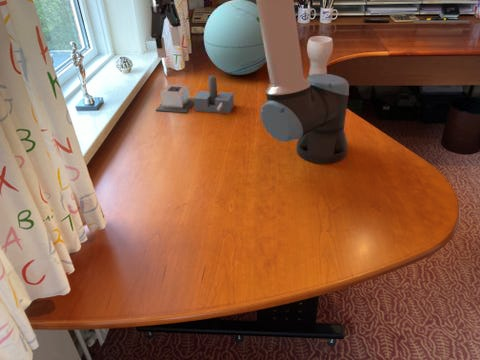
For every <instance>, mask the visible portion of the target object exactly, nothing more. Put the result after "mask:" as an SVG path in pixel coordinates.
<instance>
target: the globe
mask: <svg viewBox="0 0 480 360" xmlns="http://www.w3.org/2000/svg"><path fill="white" fill-rule="evenodd" d="M203 43H204V49H205V52H206V53H207V55H208V58H209V59H210V61H211V62H212V64H214V65H215V66H216V68H218V69H220V70H222V71H223V72H225V73H227V74H229V75H235V76H240V75H243V76H244V75H248V74H251V73H253V72H256V71H258V70H259V69H260V68H262V67H263V66H264V65H265V64H266V63H267V61H266V55H265V49H264V43H263V37H262V32H261V26H260V20H259V14H258V8H257V3H254V2H252V1H249V0H229V1H226V2H224V3H222V4H221V5H219V6H217V8H215V9H214V11H212V13H211V14H210V16H209V17H208V19H207V21H206V24H205V26H204V31H203Z"/></svg>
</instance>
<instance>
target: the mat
mask: <svg viewBox="0 0 480 360" xmlns="http://www.w3.org/2000/svg"><path fill="white" fill-rule="evenodd" d="M193 98H194V97H190V101H189V102H188V104H187V105H186V106H185V107H184V109H172V108H163V106H162V102H161V104H159V105H158V107H157V108H156V109H155V112H163V113H175V114H187V113H188V112H189V111H190V109H191V108H192V107H193V106H194V99H193Z"/></svg>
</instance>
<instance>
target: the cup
mask: <svg viewBox="0 0 480 360" xmlns="http://www.w3.org/2000/svg"><path fill="white" fill-rule="evenodd" d="M333 49H334V41H333V38H332V37H329V36H326V35H325V36H324V35H315V36H311V37H309V38H308V41H307V44H306V51H307V57H308V59H309V65H310V66H309V71H308V76H310V75H312V74H328V70H327V69H328V68H327V65H328V61H329V59H331V58H330V57H331V55H332V53H333V51H334V50H333Z"/></svg>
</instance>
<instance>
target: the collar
mask: <svg viewBox="0 0 480 360" xmlns="http://www.w3.org/2000/svg"><path fill="white" fill-rule="evenodd" d="M160 98H161V103H162V106H163V108H172V109H184V107H185V106H186V105H187V104H188V102H189V101H190V98H191V96H190V86H189V85H181V84H167V85H166V86H165V88H164V89H162V90H161V91H160Z"/></svg>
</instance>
